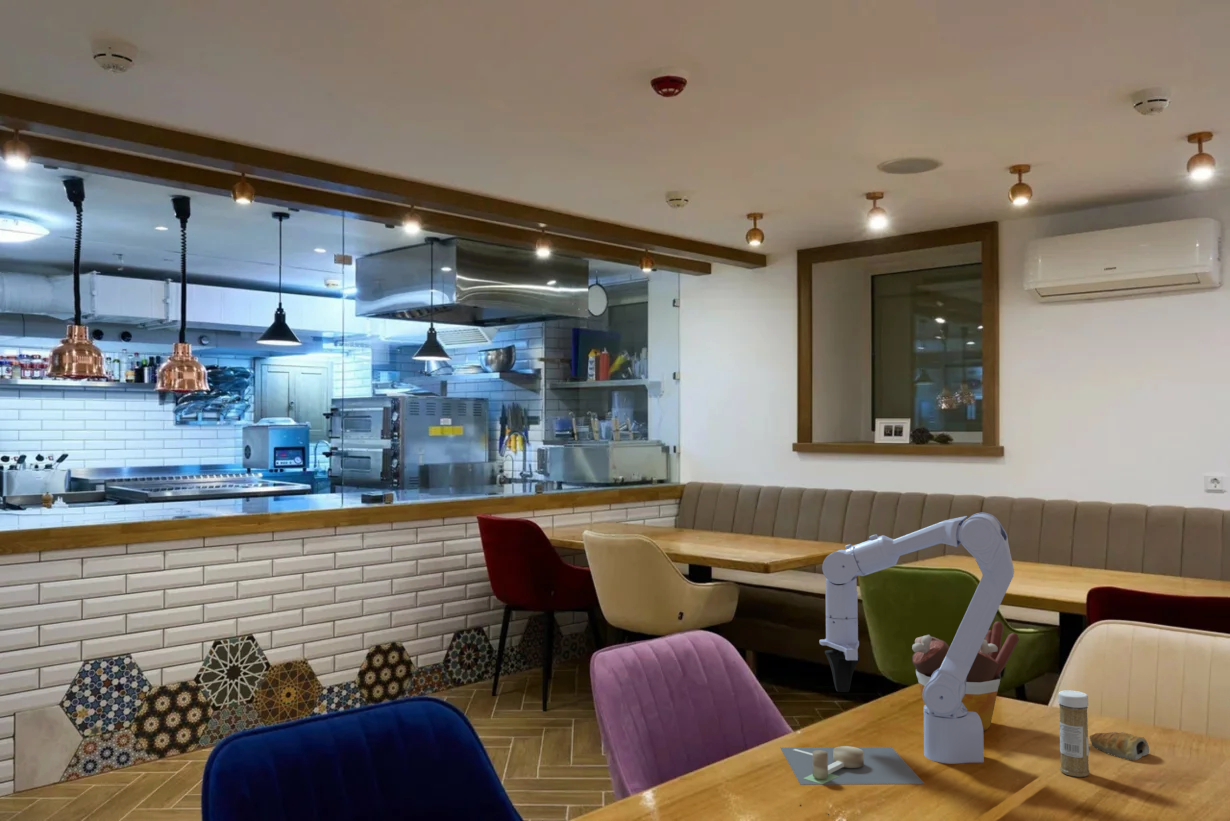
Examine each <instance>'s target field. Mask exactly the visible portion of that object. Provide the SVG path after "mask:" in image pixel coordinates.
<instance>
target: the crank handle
mask: <svg viewBox="0 0 1230 821" xmlns="http://www.w3.org/2000/svg"><path fill="white" fill-rule="evenodd" d="M835 747H836V748H834V749H833V762H834V763H832V764H830V765H828V753H827V752H826V751H822V750H815V751H813V777H815V778H818V779H825V778H827V777H828V774H830V773H832V772H834V771H836V770H838V769H840V768H842V767H845V768H858V767H861V766H863V765H864V752H863V750H861V749H859V748H856V747H857V746H850V745H842V746H835Z"/></svg>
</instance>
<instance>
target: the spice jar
mask: <svg viewBox="0 0 1230 821" xmlns="http://www.w3.org/2000/svg"><path fill="white" fill-rule="evenodd" d="M1057 695H1058V706H1059V752H1060V766H1059V770H1060V772H1062V773H1063V774H1065V775H1068V776H1070V777H1074V778H1075V777H1077V778H1083V777H1084V778H1085V777H1088V776H1089V774H1090V769H1089V764H1090V763H1089V755H1090V750H1089V748H1090V746H1089V736H1088V735H1089V733H1088V732H1089V730H1088V729H1089V728H1088V726H1089V724H1088V722H1089V721H1088V720H1089V719H1088V706H1089V695H1088V694H1087V693H1085V692H1082V691H1078V690H1070V689H1069V690H1067V689H1065V690H1061V691H1059V692H1058V694H1057Z"/></svg>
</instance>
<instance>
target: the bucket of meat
mask: <svg viewBox="0 0 1230 821" xmlns="http://www.w3.org/2000/svg"><path fill="white" fill-rule="evenodd" d="M991 628H992V630H991V629H989V630H988V632H987V634H986V636H985V638H984V641H983V643H982V645H981V647H980V649H979V651H978V653H977V656H976V658H975V660H974V662H973V664H972V666H971V668H970V671H969V673H968V675H967V678H966V685H967V690H966V693H965V695H964V697H963V698H962V700H961V702H962V703H963V704H964V706H965V708H967V711H971V712H976V713H977V714H978V715H979V717H980V719H981V722H982V726H983V732H984V731H987V730H988V729H989V728H990V727H991V723H992V720H993V715H994V710H995V706H996V705H995V704H996V699H997V697H998V696H997V695H998V690H999V686H1000V684H1001V682H1000V681H1001V675H1002V674H1001V672H1003V670H1004V669H1005V667H1006V665H1007V663H1008V661H1009V659H1010V658H1011V655H1012V654H1013V652H1014V650H1015V648H1016V646H1017V644H1018V643H1019V640H1020V638H1019V635H1018V634H1017V633H1016V632H1015V633H1014V632H1012V633H1010V634H1008V635H1007V636H1006V639H1005V641H1004V643H1003V645H1002V639H1003V634H1004V624H1003V623H1002V622H1001V621H998V620H997V621H996V620H995V622H994V623H993V624H992V627H991ZM1001 645H1002V646H1001ZM911 647H912V648H911V649H912V651H913V652H914V653H913V654H912V656H911V657H912V664H913V666H914V668H915V674H916V678H917V681H918V684H919V686H918V687H919V688H920V689H919V690H920V694H921V698H922V702H923V707H924V706H925V703H924V700H923V689H924V687H925V685H926V684H927V683H928V682H929V680H930V677H931V675H932V674H933V673H934V672H935V671H936V670H937V669H939V668H940V667H941V665H942V663H943V661H944V659H945V657H946V654H947V652H948V650H949V648H950V646H949V644H948V643H947V642H946V641H945V640H943V639H939V638H938V637H937V638H936V637H935V636H931V635H930V634H926V635H923V636H919V637H916V638H915V640H914V643H913V644H912V646H911Z"/></svg>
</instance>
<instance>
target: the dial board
mask: <svg viewBox="0 0 1230 821" xmlns="http://www.w3.org/2000/svg"><path fill="white" fill-rule="evenodd" d="M836 747H837V746H833V747H832V746H831V747H830V746H825V747H824V746H821V747H816V746H815V747H814V746H813V747H810V746H808V747H805V746H804V747H800V746H798V747H792V746H791V747H790V746H789V747H783V746H782V747H781V746H780V750H781V752H782V754H783V756H784V757H785V759H786V761H787V763H788V765H789V766H790V768H791V771H792V772H793V774H794V775H795V777H796V780H797V782H798V783H799V785H800V786H802V785H809V786H811V785H813V786H814V785H815V786H816V785H825V786H827V785H828V786H829V785H834V786H835V785H839V786H840V785H841V786H842V785H845V786H846V785H847V786H848V785H925V782H924V781H923V780H922V779H921V778H920V777H919V776H918V775H917V773H916V772H915V771H914V770H913V769H912V768H911V767H910V766H909V765H908V763H906V762H905V760H904V759H903V758H902V757H901V756H900V755H899V754H898V752H897V751H896V750H895V749H894V748H893V747H892V746H855V747H856V748H859V749H861V750H863V752H864V765H863V766H861V767H858V768H845V767H842V768H840V769H838V770H836V771H834V772H832V773H830V774H828V777H827V778H825V779H818V778H815V777H813V751H815V750H822V751H826V752H827V753H828V765H830V764H832V763H834V762H833V749H834V748H836Z"/></svg>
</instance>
